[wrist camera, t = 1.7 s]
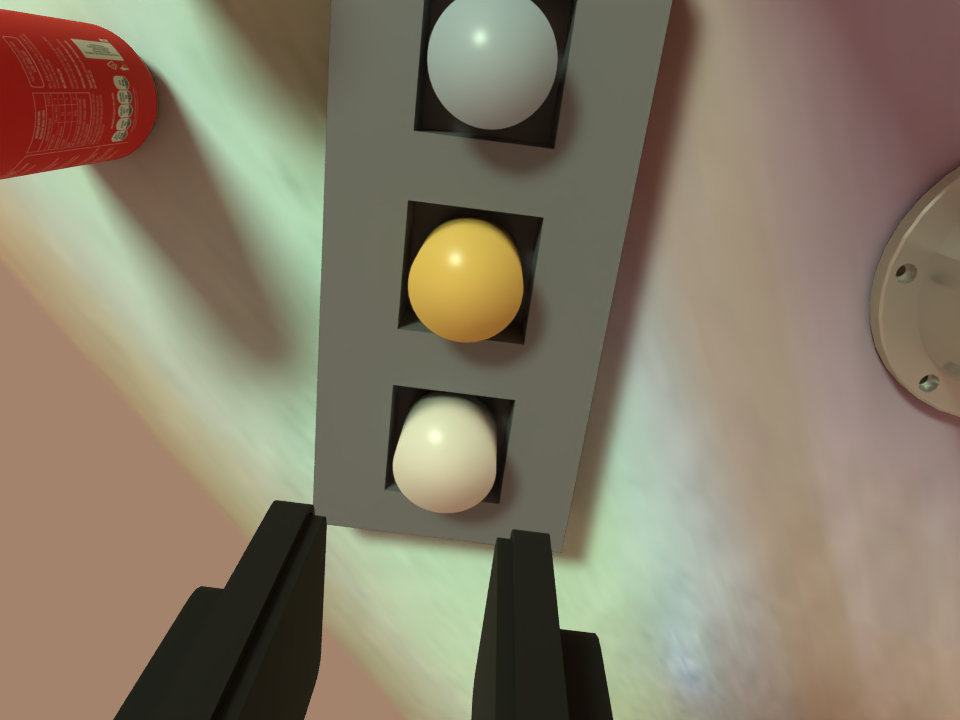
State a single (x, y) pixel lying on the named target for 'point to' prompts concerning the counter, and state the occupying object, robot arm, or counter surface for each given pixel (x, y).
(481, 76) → the slate button
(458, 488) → the ivory button
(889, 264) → the robot arm
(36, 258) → the counter surface
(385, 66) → the panel
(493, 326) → the amber button
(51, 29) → the beverage can
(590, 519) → the counter surface
